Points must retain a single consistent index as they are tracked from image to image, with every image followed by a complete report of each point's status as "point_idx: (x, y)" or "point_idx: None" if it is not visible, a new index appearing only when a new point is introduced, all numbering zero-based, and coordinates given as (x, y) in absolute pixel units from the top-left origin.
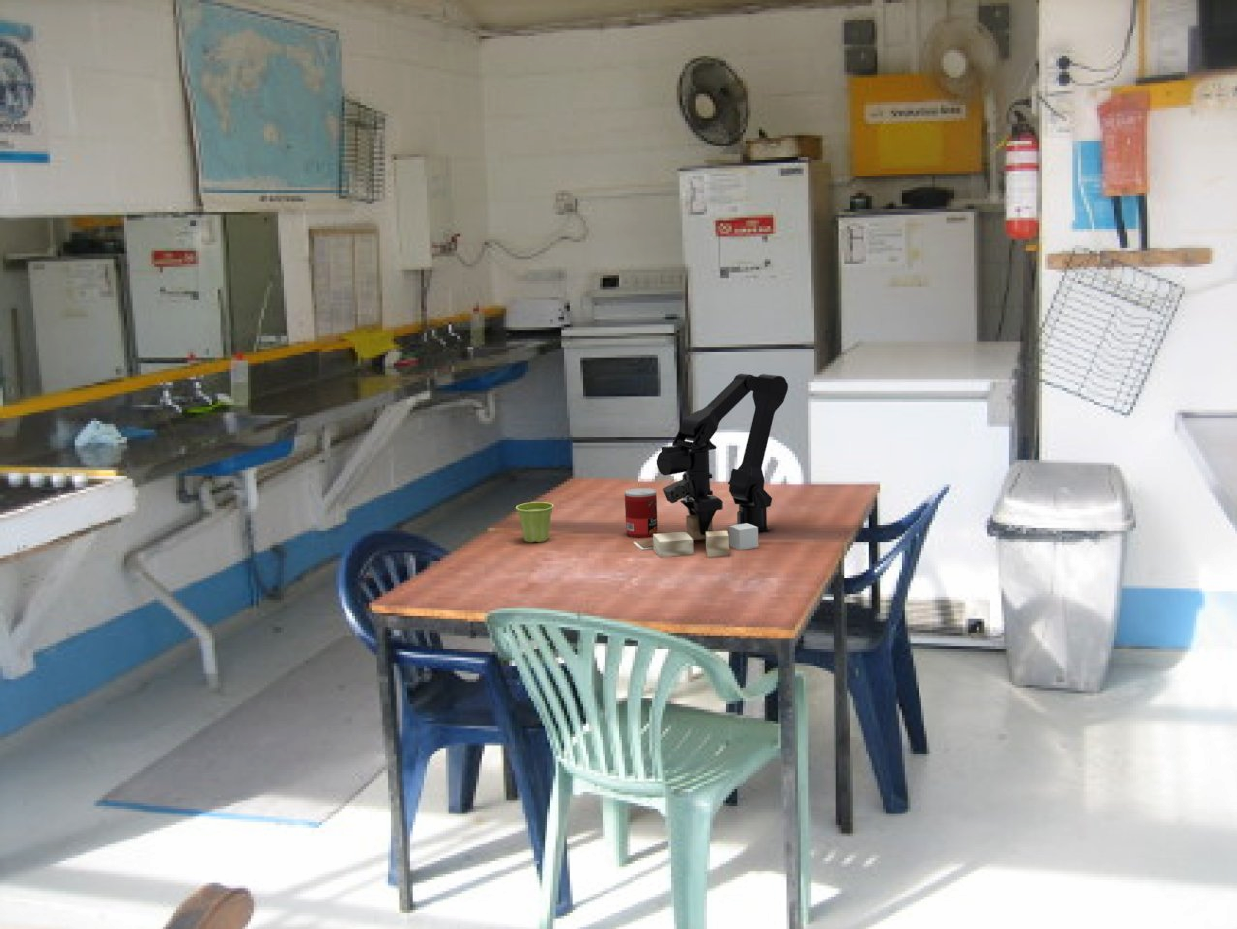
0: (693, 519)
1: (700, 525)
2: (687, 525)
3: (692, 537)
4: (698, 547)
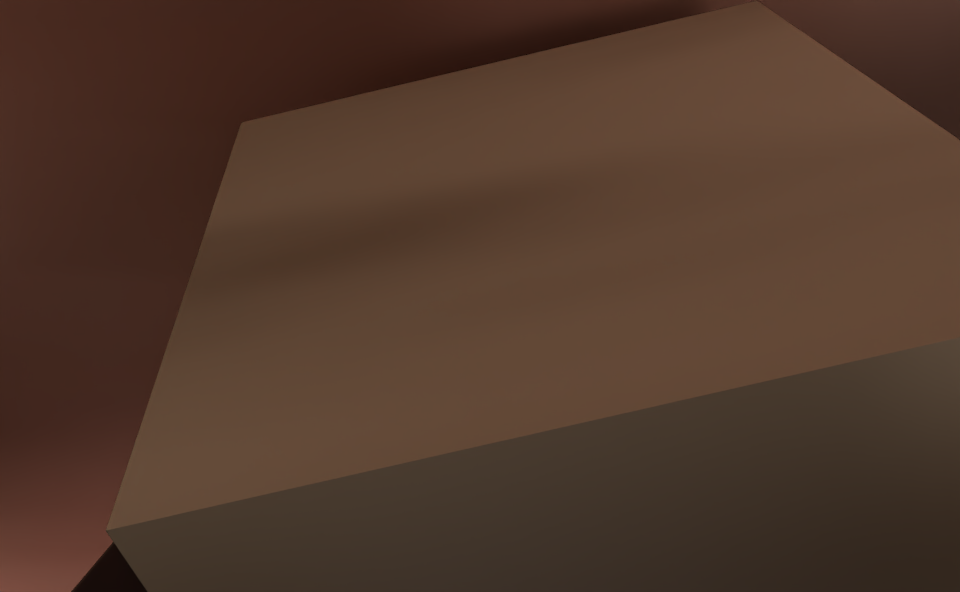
0: (174, 562)
1: (100, 567)
2: (781, 130)
3: (282, 131)
4: (15, 169)
